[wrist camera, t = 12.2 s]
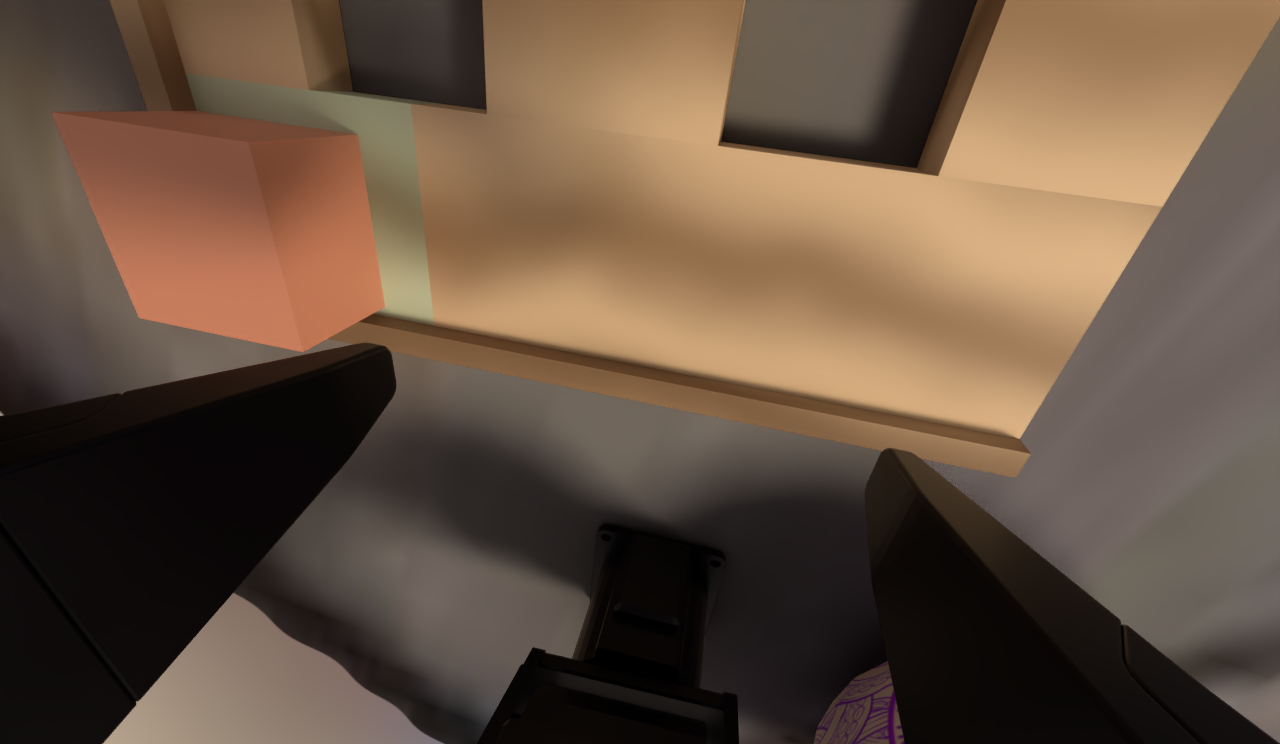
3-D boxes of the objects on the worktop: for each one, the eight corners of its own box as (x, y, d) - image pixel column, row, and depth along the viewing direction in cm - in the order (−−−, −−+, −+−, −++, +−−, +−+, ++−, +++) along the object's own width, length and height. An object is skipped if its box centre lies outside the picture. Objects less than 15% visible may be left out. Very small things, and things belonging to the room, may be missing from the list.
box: (981, 429, 18) (1015, 477, 16) (276, 293, 22) (217, 316, 20) (1297, -135, 11) (1453, -204, 8) (141, -204, 14) (18, -267, 12)
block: (385, 307, 19) (302, 351, 15) (247, 280, 20) (139, 318, 16) (357, 134, 16) (248, 142, 12) (196, 110, 17) (50, 111, 13)
